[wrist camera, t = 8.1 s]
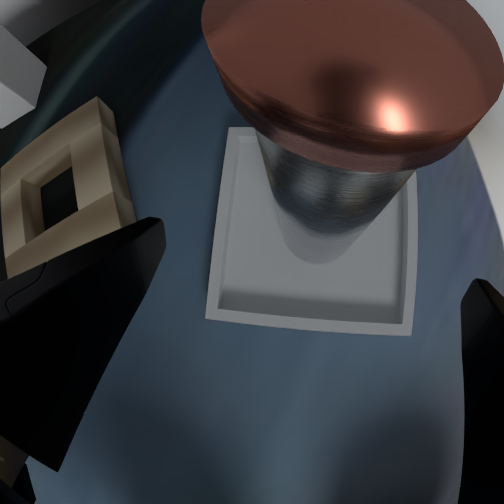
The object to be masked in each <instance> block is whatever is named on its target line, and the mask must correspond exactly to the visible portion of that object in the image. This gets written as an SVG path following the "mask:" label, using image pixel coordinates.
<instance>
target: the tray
mask: <svg viewBox="0 0 504 504" xmlns="http://www.w3.org/2000/svg"><path fill="white" fill-rule="evenodd" d="M417 251H418V207H417V182H416V171H415V172H414V173H413V174H412V176H411V177H410V178H409V179H408V181H407V182H406V183H405V184H404V185H403V187H402V188H401V189H400V190H399V191H398V193H397V194H396V195H395V196H394V197H393V199H392V200H391V201H390V202H389V203H388V204H387V206H386V207H385V208H384V209H383V210H382V212H381V213H380V214H379V215H378V216H377V217H376V218H375V220H374V221H373V222H372V223H371V224H370V225H369V226H368V228H367V229H366V230H365V231H364V232H363V233H362V234H361V236H360V237H359V238H358V239H357V240H356V241H355V242H354V243H353V244H352V246H351V247H350V248H349V249H348V250H347V251H346V252H345V253H344V254H343V255H342V256H341V257H340V258H338V259H336V260H334V261H332V262H329V263H325V264H313V263H308V262H305V261H303V260H301V259H299V258H298V257H296V256H295V255H294V254H293V253H292V252H291V251H290V250H289V248H288V247H287V245H286V243H285V241H284V238H283V234H282V230H281V226H280V222H279V218H278V214H277V211H276V207H275V203H274V199H273V195H272V191H271V187H270V184H269V180H268V176H267V172H266V168H265V165H264V161H263V157H262V154H261V150H260V146H259V143H258V139H257V135H256V132H255V128H254V127H229V131H228V137H227V144H226V151H225V158H224V165H223V172H222V179H221V186H220V194H219V201H218V209H217V217H216V225H215V233H214V241H213V250H212V259H211V268H210V277H209V286H208V296H207V306H206V316H205V319H212V320H220V321H228V322H236V323H244V324H252V325H261V326H271V327H280V328H291V329H302V330H313V331H326V332H340V333H356V334H375V335H400V336H411V333H412V324H413V315H414V304H415V291H416V276H417Z"/></svg>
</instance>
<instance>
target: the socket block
mask: <svg viewBox="0 0 504 504" xmlns="http://www.w3.org/2000/svg"><path fill="white" fill-rule="evenodd" d="M71 166H72V169H73V177H74V184H75V191H76V198H77V204H78V210H79V211H77V212H76V213H74V214H72V215H71V216H69V217H67V218H66V219H64V220H62V221H61V222H59V223H58V224H56V225H54V226H53V227H51V228H50V229H48V230H46V231H45V228H44V221H43V212H42V203H41V192H40V188H41V187H42V186H44V185H45V184H46V183H48V182H49V181H51V180H52V179H54V178H55V177H56V176H58V175H59V174H61V173H62V172H64V171H65V170H67V169H68V168H70V167H71ZM1 216H2V231H3V243H4V252H5V261H6V268H7V275H8V279H9V278H11V277H14V276H16V275H18V274H20V273H23V272H25V271H27V270H29V269H31V268H33V267H35V266H37V265H39V264H42V263H44V262H47V261H48V260H50V259H52V258H54V257H57V256H59V255H61V254H63V253H65V252H67V251H70V250H72V249H74V248H76V247H78V246H81V245H83V244H85V243H87V242H90V241H92V240H94V239H97V238H99V237H101V236H103V235H106V234H108V233H110V232H113V231H115V230H118V229H120V228H122V227H125V226H127V225H130V224H132V223H134V222H137V219H136V215H135V211H134V207H133V203H132V199H131V195H130V191H129V187H128V183H127V178H126V174H125V169H124V165H123V160H122V155H121V151H120V146H119V141H118V135H117V130H116V125H115V119H114V113H113V111H112V110H111V109H110V108H109V107H108V106H107V105H106V104H105V103H104V102H103V101H101V100H100V99H99V98H98V97H95V98H93V99H92V100H90V101H89V102H87V103H85V104H84V105H82V106H81V107H79V108H78V109H76V110H75V111H73V112H72V113H70V114H69V115H67V116H66V117H65V118H63V119H62V120H60V121H59V122H58V123H56V124H55V125H53V126H52V127H51V128H49V129H48V130H47V131H45V132H44V133H43V134H41V135H40V136H39V137H37V138H36V139H35V140H34V141H32V142H31V143H30V144H29V145H27V146H26V147H25V148H24V149H22V150H21V151H20V152H19V153H18V154H16V155H15V156H14V157H13V158H12V159H11V160H9V161H8V162H7V163H6V164H5V165H4V166H3V167H2V168H1Z"/></svg>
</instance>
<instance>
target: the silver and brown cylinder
mask: <svg viewBox="0 0 504 504" xmlns="http://www.w3.org/2000/svg"><path fill="white" fill-rule="evenodd" d="M201 24H202V31H203V34H204V37H205V39H206V42H207V44H208V47H209V49H210V52H211V55H212V57H213V60H214V62H215V65H216V68H217V70H218V73H219V75H220V78H221V81H222V83H223V86H224V88H225V91H226V94H227V96H228V97H229V99H230V101H231V102H232V104H233V106H234V107H235V109H236V110H237V111H238V112H239V113H240V114H241V116H242V117H243V118H244V119H245V120H246V121H247V122H248V123H249V124H250V125H251V126H252V127H254V128H255V132H256V135H257V139H258V143H259V146H260V150H261V154H262V157H263V161H264V165H265V168H266V172H267V176H268V180H269V184H270V187H271V191H272V195H273V199H274V203H275V207H276V211H277V214H278V218H279V222H280V226H281V230H282V234H283V238H284V241H285V243H286V245H287V247H288V248H289V250H290V251H291V252H292V253H293V254H294V255H295V256H296V257H298V258H299V259H301V260H303V261H305V262H308V263H313V264H325V263H329V262H332V261H334V260H336V259H338V258H340V257H341V256H342V255H343V254H344V253H345V252H346V251H347V250H348V249H349V248H350V247H351V246H352V244H353V243H354V242H355V241H356V240H357V239H358V238H359V237H360V236H361V234H362V233H363V232H364V231H365V230H366V229H367V228H368V226H369V225H370V224H371V223H372V222H373V221H374V220H375V218H376V217H377V216H378V215H379V214H380V213H381V212H382V210H383V209H384V208H385V207H386V206H387V204H388V203H389V202H390V201H391V200H392V199H393V197H394V196H395V195H396V194H397V193H398V191H399V190H400V189H401V188H402V187H403V185H404V184H405V183H406V182H407V181H408V179H409V178H410V177H411V176H412V174H413V173H414V172H415V171H416V169H417V168H421V167H424V166H427V165H430V164H432V163H434V162H436V161H438V160H440V159H442V158H444V157H445V156H447V155H448V154H449V153H451V152H452V151H453V150H455V149H456V148H457V146H458V145H459V144H460V143H461V142H462V141H463V140H464V139H465V137H466V136H467V135H468V134H469V133H470V132H471V130H472V129H473V128H474V127H475V126H476V125H477V124H478V123H479V121H480V120H481V119H482V118H483V117H484V115H485V114H486V113H487V112H488V111H489V109H490V108H491V107H492V106H493V105H494V103H495V102H496V101H497V100H498V98H499V95H500V93H501V91H502V89H503V83H504V63H503V58H502V54H501V51H500V48H499V46H498V43H497V41H496V39H495V37H494V35H493V33H492V32H491V30H490V29H489V27H488V25H487V24H486V23H485V21H484V20H483V18H482V17H481V16H480V15H479V14H478V12H477V11H476V10H475V9H474V8H473V7H472V6H471V5H470V4H469V3H468V2H467V1H466V0H205V3H204V5H203V8H202V15H201Z"/></svg>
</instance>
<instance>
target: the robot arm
mask: <svg viewBox="0 0 504 504" xmlns="http://www.w3.org/2000/svg"><path fill="white" fill-rule="evenodd" d="M165 249H166V237H165V229H164V222H163V220H162V219H160V218H155V217H147V218H144V219H142V220H139V221H137V222H134V223H132V224H130V225H127V226H125V227H122V228H120V229H118V230H115V231H113V232H110V233H108V234H106V235H103V236H101V237H99V238H97V239H94V240H92V241H90V242H87V243H85V244H83V245H81V246H78V247H76V248H74V249H72V250H70V251H67V252H65V253H63V254H61V255H59V256H57V257H54V258H52V259H50V260H48V261H47V262H44V263H42V264H39V265H37V266H35V267H33V268H31V269H29V270H27V271H25V272H23V273H20V274H18V275H16V276H14V277H11V278H9V279H7V280H4V281H2V282H0V504H34V503H35V501H36V497H35V494H34V491H33V487H32V484H31V480H30V476H29V472H28V468H27V465H26V464H25V462H26V460H27V458H28V456H31V457H32V458H34V459H36V460H37V461H39V462H40V463H42V464H44V465H45V466H47V467H49V468H51V469H52V470H54V471H56V472H58V471H59V469H60V467H61V465H62V462H63V460H64V458H65V455H66V453H67V451H68V448H69V446H70V444H71V441H72V439H73V437H74V435H75V432H76V430H77V428H78V426H79V424H80V421H81V419H82V417H83V415H84V413H83V412H85V410H86V408H87V406H88V404H89V402H90V400H91V398H92V395H93V393H94V391H95V389H96V387H97V385H98V383H99V381H100V379H101V377H102V375H103V373H104V371H105V369H106V367H107V365H108V363H109V361H110V359H111V357H112V355H113V353H114V352H115V350H116V348H117V346H118V344H119V342H120V340H121V338H122V336H123V334H124V333H125V331H126V329H127V327H128V325H129V323H130V321H131V320H132V318H133V316H134V314H135V312H136V311H137V309H138V307H139V305H140V303H141V302H142V300H143V298H144V296H145V294H146V292H147V290H148V288H149V286H150V284H151V281H152V279H153V277H154V274H155V272H156V270H157V268H158V265H159V263H160V261H161V259H162V256H163V254H164V252H165ZM461 335H462V363H463V378H464V408H465V421H464V450H463V465H462V475H461V486H460V491H459V499H458V504H504V297H503V296H502V295H501V294H500V293H499V292H498V291H497V290H496V289H495V288H494V287H493V286H492V285H491V284H490V283H489V282H488V281H486V280H483V279H478V278H476V279H474V280H473V281H472V283H471V284H470V286H469V288H468V290H467V291H466V293H465V295H464V297H463V298H462V301H461Z"/></svg>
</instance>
